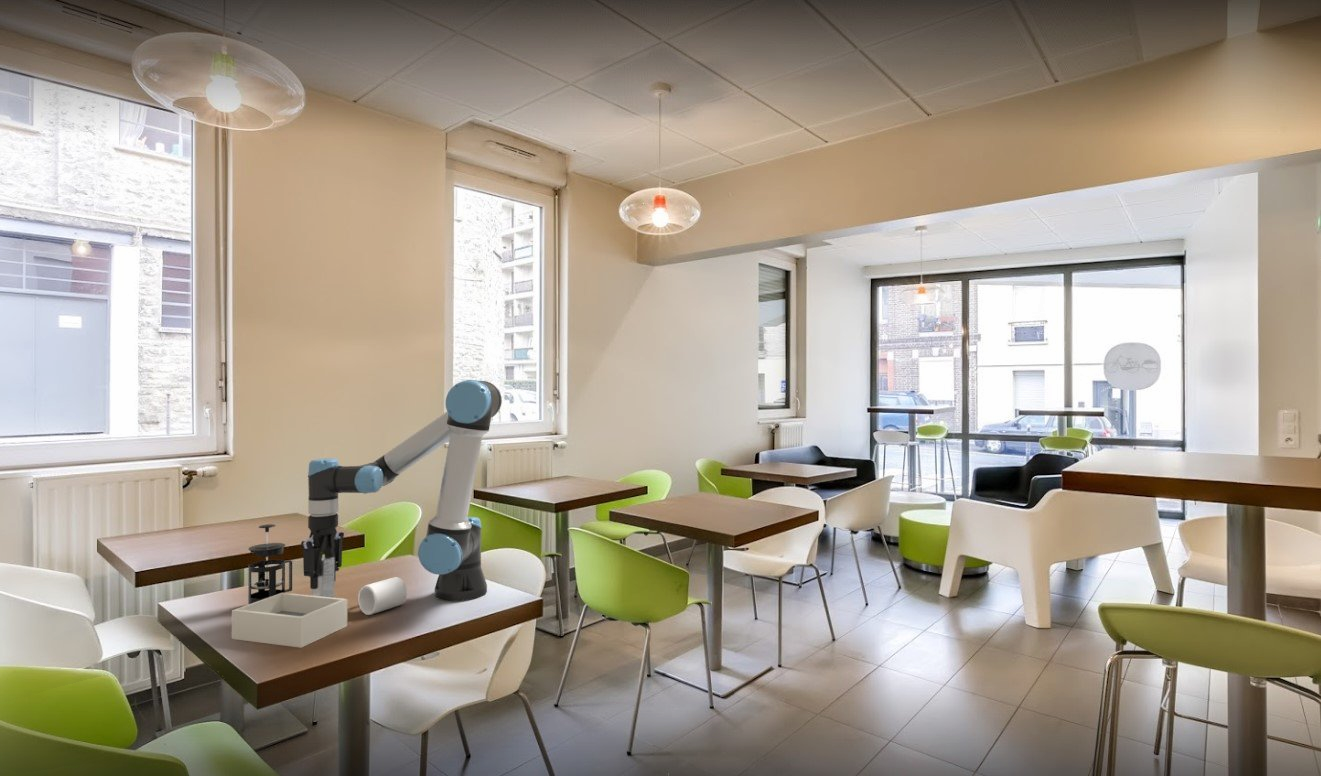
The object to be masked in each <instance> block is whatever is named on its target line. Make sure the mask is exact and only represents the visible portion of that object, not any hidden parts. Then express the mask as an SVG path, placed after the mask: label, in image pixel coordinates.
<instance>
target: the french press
mask: <svg viewBox="0 0 1321 776" xmlns="http://www.w3.org/2000/svg"><path fill="white" fill-rule="evenodd" d="M274 527H276V524H272V523H271V524H270V523H269V524H261V525H259V526H258V528H259V529H264V532H265V534H266V535H265V536H266V537H265V538H266V539H265V540H266V542H265V543H262V544H256V545H252V546H250V547H248V551H250V553H251V554H255V555H256V556H257V557H259V558H265V559H266V560H260V561H256V562H253V563H250V564H248V578H247V579H248V591H247V592H248V602H247V603H248V604H247V605H249V604H251V603H254V602H257V601H260V600H263V599H266V598H268V597H271V596H274V595H277V594H280V593H290V592H292V591H293V560H291V559H288V560H287V559H286V560H285V559H284V560H283V559H269V558H270V557H275V556H280V555H282V554H283V553H284V548H285V547H286V543H282V542H271V543H270V542H269V533H270V528H274ZM287 563H288V589H286V564H287ZM269 565H272V566H269ZM279 570H281V579H280V578H277V571H279ZM252 573H258V575H257V581H254V582H253V583H252ZM278 587H281V589H277V588H278ZM252 590H257V591H256V592H253V593H252Z"/></svg>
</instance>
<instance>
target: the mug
mask: <svg viewBox="0 0 1321 776" xmlns="http://www.w3.org/2000/svg"><path fill="white" fill-rule="evenodd" d="M407 592H408V591H407V587H406V584H405V582H404V581H403V580H402V578H400V577H397V576H394V577H390V578H387V579H383V580H380V581H376V582H373V583H368V584H366V585H363V586H361V588H360V589H359V591H358V594H357V602H358V603H357V604H358V607H359V609H360V610H361V612H362V613H363V614H365V615H367V616H371V615H374V614H378V613H380V612H384V611H387V610H390V609H393V608H395V607H398V606H401V605H403V604H404V603H405V601H406V599H407V594H408V593H407Z"/></svg>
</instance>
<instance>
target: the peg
mask: <svg viewBox="0 0 1321 776" xmlns="http://www.w3.org/2000/svg"><path fill="white" fill-rule="evenodd" d="M319 576H322V597H332V598H335V582H334V557H325V555H322V560H321V567H320V574H319Z"/></svg>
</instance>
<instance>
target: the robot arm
mask: <svg viewBox="0 0 1321 776" xmlns="http://www.w3.org/2000/svg"><path fill="white" fill-rule="evenodd" d="M502 403H503V400H502V395H501V392H500V390H499V388H497V386H496V385H495V384H493V383H491V382H489V381H485V380H476V379H465V380H462V381H459V382H457V383H456V384H455V385H453V386H452V387H451V388H450V389H449V391H448V393H447V395H446V398H445V409H446V412H444V413H443V414H441V415H440V416H439V417H436V419H433V421H431V422H430V423H428V424H427V425H426V426H424V427H423V428H421V429H419V430H418V431H417V432H415V433H414V434H413V435H411V436H409V437H408V438H407V439H405V440H404V441H402V442H401V443H399V444H398V445H396V446H395V447H393V448H392V449H391V450H389V451H388V452H386V453H384V454H383V455H382V456H381V457H379V458H377V459H376V460H375V461H372V462H370V463H369V462H368V463H366V464H362V465H356V466H355V465H351V466H350V465H345V466H343V465H339V460H338V459H337V458H316V459H311V461H309V463H308V473H307V478H308V479H307V480H308V481H307V482H308V486H307V487H308V500H307V501H308V504H307V505H308V506H307V507H308V511H307V512H308V514H309V515H308V518H307V522H308V523H307V526H308V527H307V528H308V529H309V530H310V533H309V536H308V539H306V540H302V541H301V543H300V544H301V547H302V557H303V558H302V559H303V561H302V562H303V564H302V565H303V576H305V577H309V578H310V580H309V581H310V582H309V583H310V584H309V585H310V586H309V587H310V589H311V595H312V596H322V576H319V574H320V567H321V560H322V556H323V555H324V556H325V557H334V583H335V582H336V578H337V577H336V575H337V574H336V572H339V570H340V568H341V567H342V564H343V563H342V561H343V540H344V536H345V533H344V532H342V531H337V527H338V526H339V514H338V512H339V494H343V493H344V494H345V493H347V494H363V495H364V494H372V493H374V494H375V493H378V492H379V491H380V490H381V488H382V487H385V486H387V485H389V484H391V483H392V482H394V481H395V479H396V478H397V477H398V476H400V475H401V474H403V473H404V472H406V471H407V470H408V469H410V468H412V467H413V466H414V465H416V464H417V463H418V462H420V461H421V460H423V459H424V458H426V457H428V456H429V455H430V454H432V453H433V452H434V451H436V450H438V449H439V448H441V447H442V446H444V445H445V444H446V443H448V446H447V447H448V448H447V453H446V458H445V463H444V468H443V473H442V474H443V475H442V479H441V483H440V490H439V496H438V502H437V507H436V513H435V516H433V517H431V519H429V521H428V523H427V529H426V535H425V537H424V538H423V539H422V541H421V542H420V544H419V546H418V550H417V555H418V556H417V558H418V560H419V562H420V564H421V565H422V568H424V569H425V571H427V572H429V573H430V574H433V575H438V577H437V580H436V583H435V586H434V597H435V599H438V600H441V601H445V602H446V601H447V602H458V601H459V602H461V601H462V602H463V601H469V600H473V599H477V598H480V597H482V596H485V594H486V593H487V592H488V584H487V581H486V578H485V575H484V571H483V568H482V530H483V529H482V522H481V519H480V518H479V517H477V516H469V511H470V507H471V506H470V505H471V500H472V494H473V489H474V483H475V479H476V471H477V468H478V467H477V466H478V461H479V456H480V451H481V446H482V440H483V436H484V435H486V434H487V433H488V432H489V431H490V426H491V421H492V418H493V417H495V416H496V415H497V414H498V412H499V411H500V409H501V407H502ZM323 553H324V554H323Z"/></svg>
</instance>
